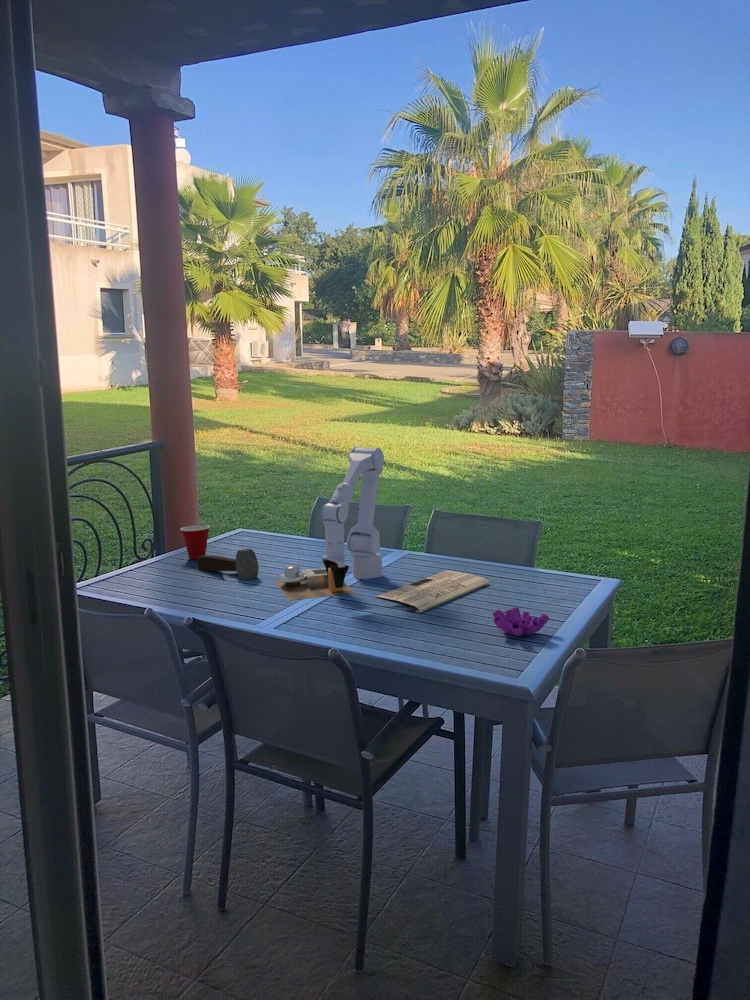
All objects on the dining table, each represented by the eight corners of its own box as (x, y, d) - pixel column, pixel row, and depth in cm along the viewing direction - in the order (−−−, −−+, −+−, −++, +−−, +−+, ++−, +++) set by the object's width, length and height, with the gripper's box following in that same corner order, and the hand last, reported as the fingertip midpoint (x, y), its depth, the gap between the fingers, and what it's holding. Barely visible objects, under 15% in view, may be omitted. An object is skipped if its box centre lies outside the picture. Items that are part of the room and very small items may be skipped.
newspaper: (444, 576, 266) (444, 568, 265) (493, 587, 253) (493, 578, 253) (373, 603, 238) (373, 594, 238) (424, 616, 226) (424, 607, 225)
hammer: (197, 579, 276) (248, 585, 256) (192, 548, 275) (244, 551, 255) (208, 576, 280) (260, 581, 259) (204, 545, 279) (256, 548, 258)
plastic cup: (202, 552, 298) (200, 521, 296) (217, 558, 290) (215, 526, 288) (176, 558, 291) (174, 526, 289) (191, 563, 283) (189, 531, 281)
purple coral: (539, 654, 205) (529, 632, 199) (490, 640, 214) (479, 619, 208) (556, 620, 210) (547, 597, 204) (507, 608, 220) (497, 587, 214)
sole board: (336, 578, 263) (336, 574, 262) (356, 597, 242) (356, 593, 242) (274, 585, 256) (274, 580, 256) (289, 605, 236) (288, 600, 235)
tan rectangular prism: (340, 588, 247) (340, 566, 245) (343, 590, 244) (342, 568, 243) (328, 589, 245) (328, 568, 244) (330, 592, 243) (330, 570, 242)
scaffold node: (335, 576, 259) (335, 559, 258) (343, 583, 251) (342, 565, 250) (276, 582, 253) (275, 564, 252) (282, 590, 245) (281, 571, 244)
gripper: (316, 537, 248) (317, 579, 250) (328, 548, 234) (329, 592, 236) (337, 535, 250) (338, 577, 252) (351, 546, 236) (351, 589, 239)
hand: (335, 584), depth 245 cm, fingers open, 7 cm apart
